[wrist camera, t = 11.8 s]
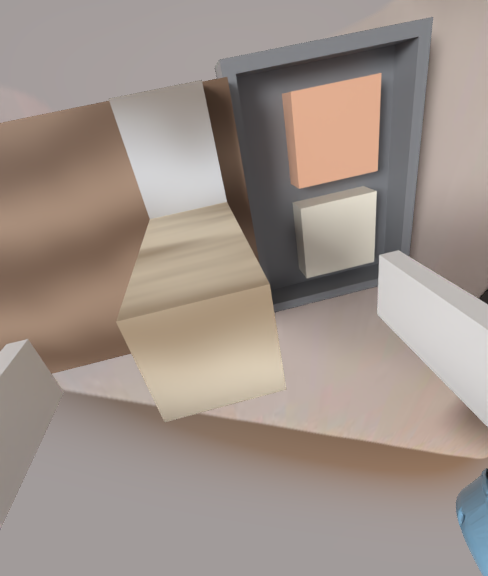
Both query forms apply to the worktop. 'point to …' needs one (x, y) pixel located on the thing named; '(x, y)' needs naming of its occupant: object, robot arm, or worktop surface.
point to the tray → (386, 181)
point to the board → (83, 226)
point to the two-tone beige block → (192, 265)
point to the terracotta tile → (333, 130)
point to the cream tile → (335, 231)
